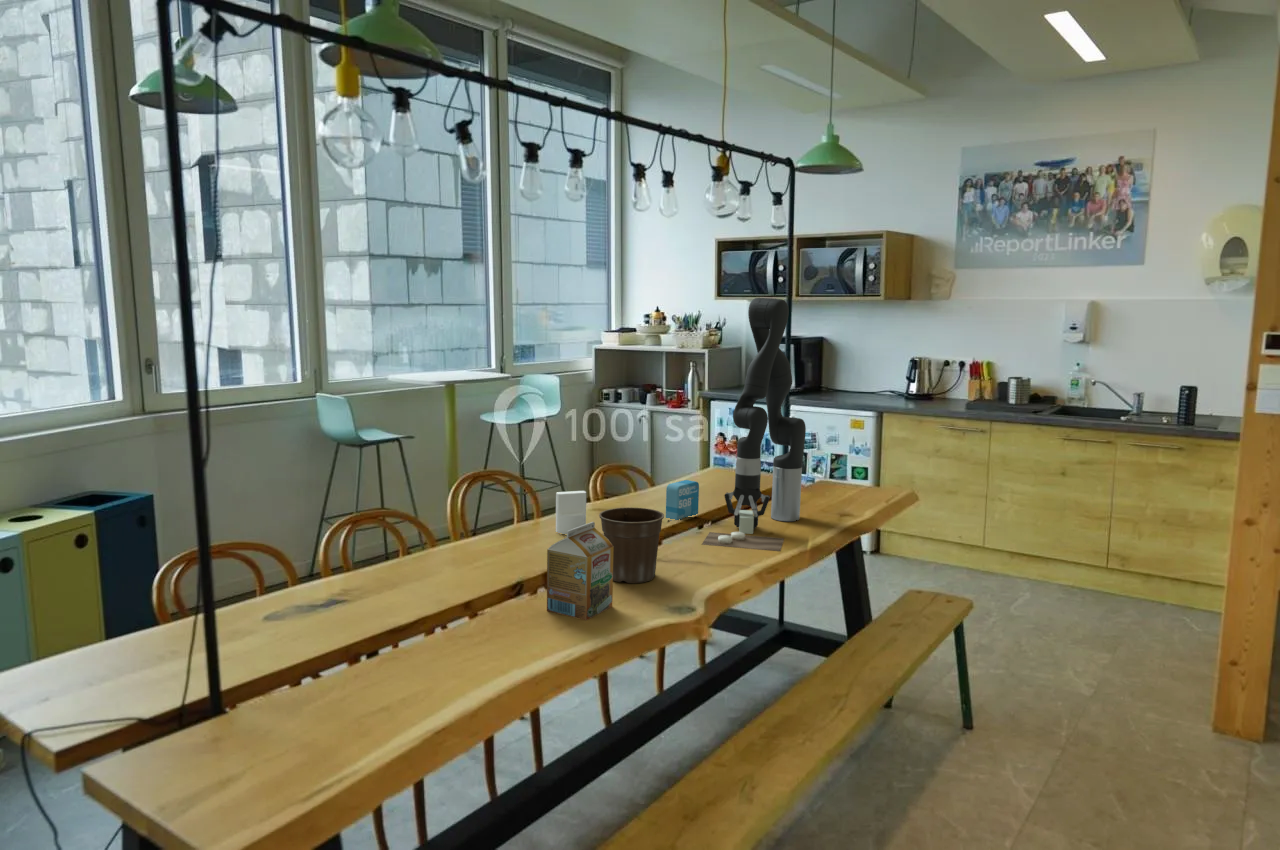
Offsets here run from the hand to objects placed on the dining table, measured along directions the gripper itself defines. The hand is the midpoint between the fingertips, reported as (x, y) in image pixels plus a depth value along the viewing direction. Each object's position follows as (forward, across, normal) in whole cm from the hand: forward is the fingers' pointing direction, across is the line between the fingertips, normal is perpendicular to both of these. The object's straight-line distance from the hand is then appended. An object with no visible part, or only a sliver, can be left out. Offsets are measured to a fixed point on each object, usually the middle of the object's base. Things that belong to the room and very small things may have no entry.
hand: (745, 527), depth 261 cm
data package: (+2, +22, -12) cm, 25 cm away
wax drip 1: (+1, +4, +16) cm, 17 cm away
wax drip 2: (+1, +1, +12) cm, 12 cm away
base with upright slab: (+2, +51, +14) cm, 53 cm away
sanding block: (+2, 0, 0) cm, 2 cm away
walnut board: (+2, -1, +14) cm, 14 cm away
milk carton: (+2, +28, +77) cm, 82 cm away
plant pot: (+2, +23, +51) cm, 56 cm away
